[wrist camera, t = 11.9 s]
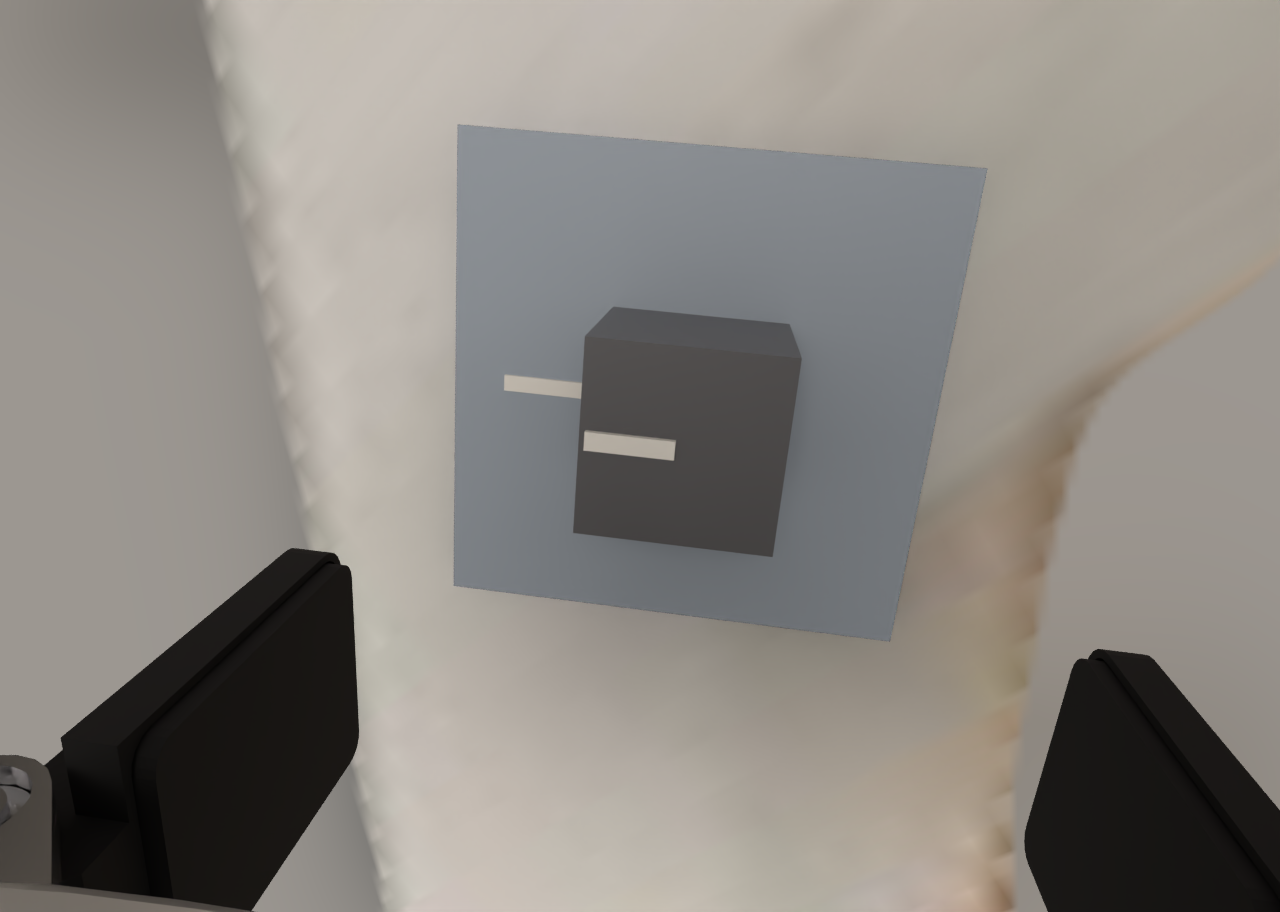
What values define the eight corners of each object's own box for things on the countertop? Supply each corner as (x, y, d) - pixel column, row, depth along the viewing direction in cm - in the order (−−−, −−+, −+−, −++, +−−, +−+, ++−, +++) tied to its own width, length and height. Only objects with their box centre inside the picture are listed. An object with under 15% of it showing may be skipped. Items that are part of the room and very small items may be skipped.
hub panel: (975, 169, 29) (1027, 167, 24) (883, 622, 35) (909, 700, 29) (470, 127, 30) (415, 116, 25) (464, 569, 36) (419, 635, 31)
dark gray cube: (789, 324, 30) (802, 359, 24) (766, 489, 32) (772, 560, 26) (613, 306, 30) (583, 337, 24) (601, 470, 32) (572, 535, 26)
